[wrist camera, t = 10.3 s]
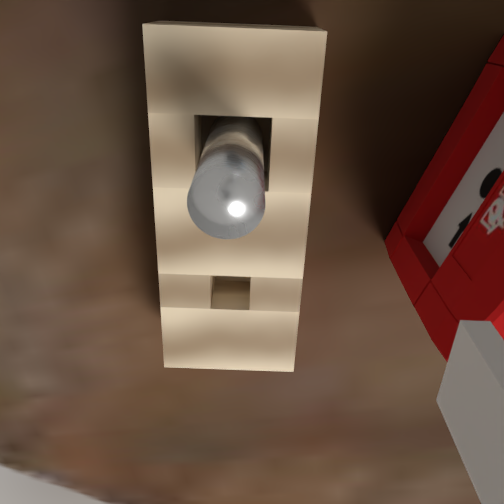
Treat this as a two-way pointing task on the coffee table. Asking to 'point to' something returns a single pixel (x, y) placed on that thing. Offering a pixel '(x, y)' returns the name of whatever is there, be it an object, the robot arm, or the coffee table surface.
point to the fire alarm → (459, 219)
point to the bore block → (275, 176)
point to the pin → (229, 179)
